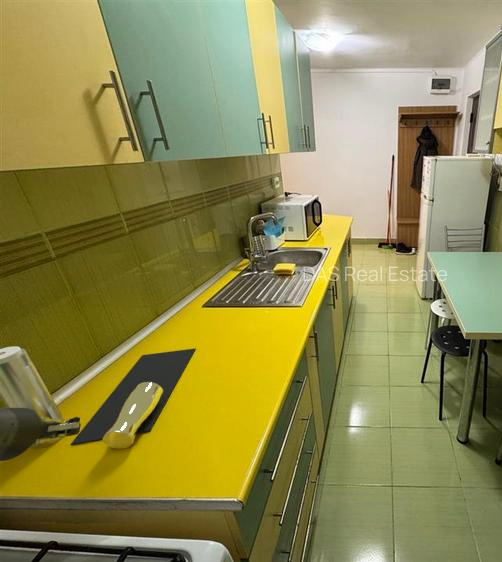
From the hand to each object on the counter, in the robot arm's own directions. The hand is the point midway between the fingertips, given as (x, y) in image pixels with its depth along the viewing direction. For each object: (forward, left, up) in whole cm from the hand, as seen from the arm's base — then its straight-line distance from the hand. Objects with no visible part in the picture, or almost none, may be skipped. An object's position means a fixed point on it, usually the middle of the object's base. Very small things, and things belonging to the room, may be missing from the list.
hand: (75, 429), depth 59 cm
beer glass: (+1, +7, -12) cm, 13 cm away
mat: (-4, +29, -15) cm, 33 cm away
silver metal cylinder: (-19, +15, -15) cm, 28 cm away
